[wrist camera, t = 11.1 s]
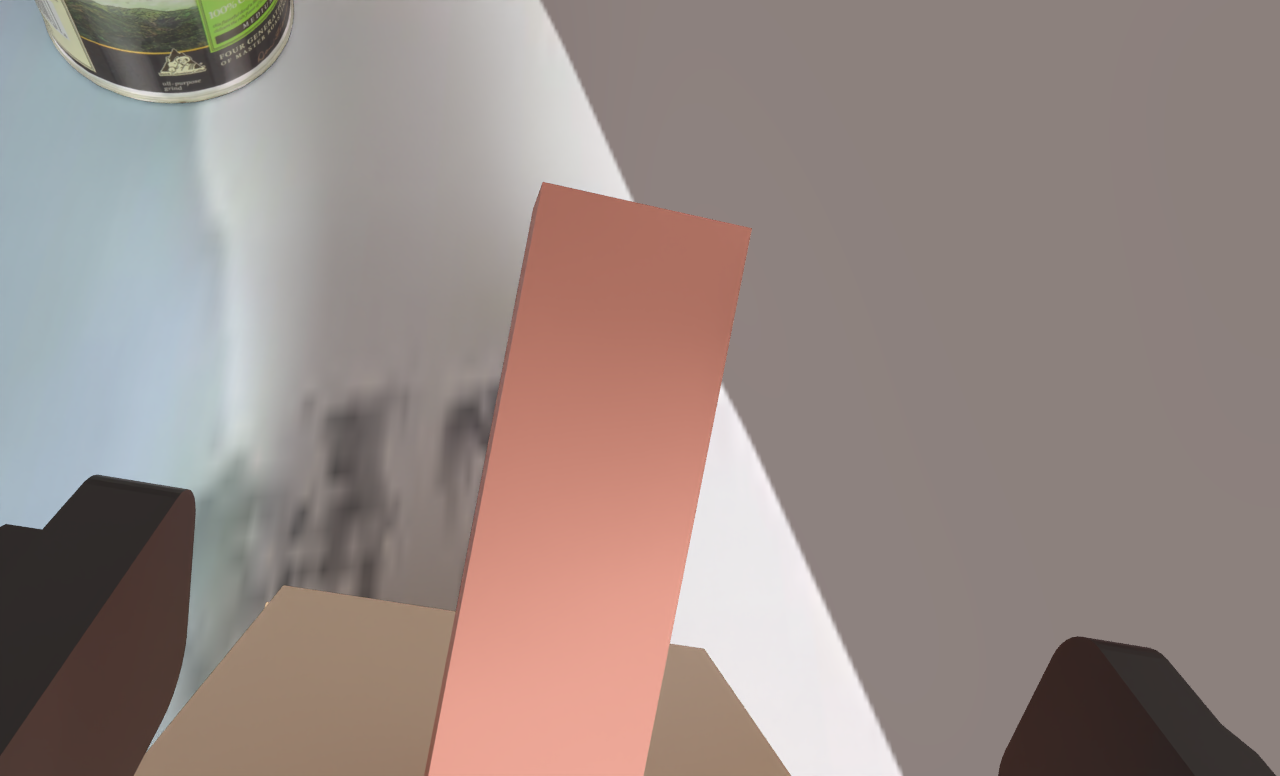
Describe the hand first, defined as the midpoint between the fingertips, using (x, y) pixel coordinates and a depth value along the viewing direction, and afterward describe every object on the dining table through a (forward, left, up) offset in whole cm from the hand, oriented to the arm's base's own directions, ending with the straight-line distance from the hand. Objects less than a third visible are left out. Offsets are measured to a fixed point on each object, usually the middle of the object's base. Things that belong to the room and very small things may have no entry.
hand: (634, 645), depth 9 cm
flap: (+1, -1, -14) cm, 14 cm away
